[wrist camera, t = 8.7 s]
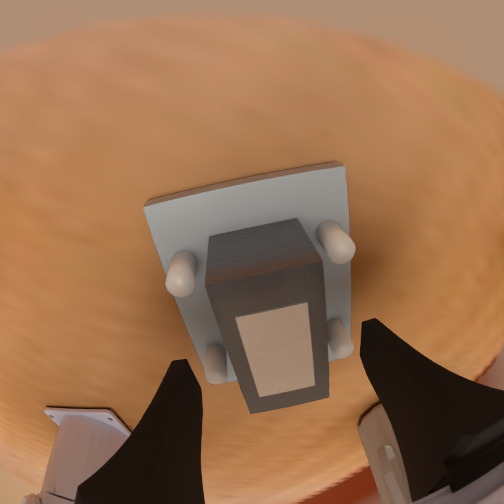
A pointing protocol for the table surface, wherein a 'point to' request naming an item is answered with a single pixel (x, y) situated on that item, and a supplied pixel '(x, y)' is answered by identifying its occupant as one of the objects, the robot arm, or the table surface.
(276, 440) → the table surface
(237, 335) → the block
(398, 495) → the water bottle
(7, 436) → the table surface
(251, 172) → the table surface
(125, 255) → the table surface
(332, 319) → the grey mounting plate
